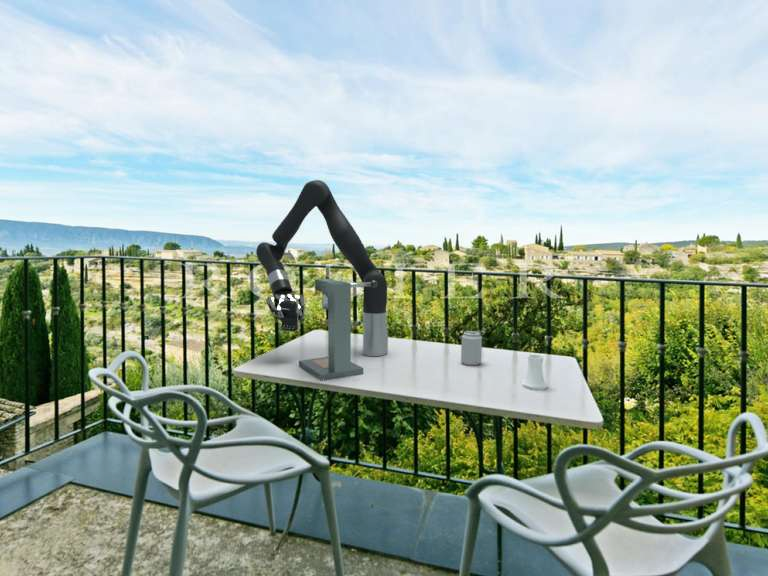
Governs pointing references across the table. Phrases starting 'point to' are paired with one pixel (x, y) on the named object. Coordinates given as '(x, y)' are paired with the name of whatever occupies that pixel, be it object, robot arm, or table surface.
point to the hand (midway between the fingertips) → (291, 319)
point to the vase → (534, 373)
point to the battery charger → (290, 315)
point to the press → (336, 331)
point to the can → (471, 348)
